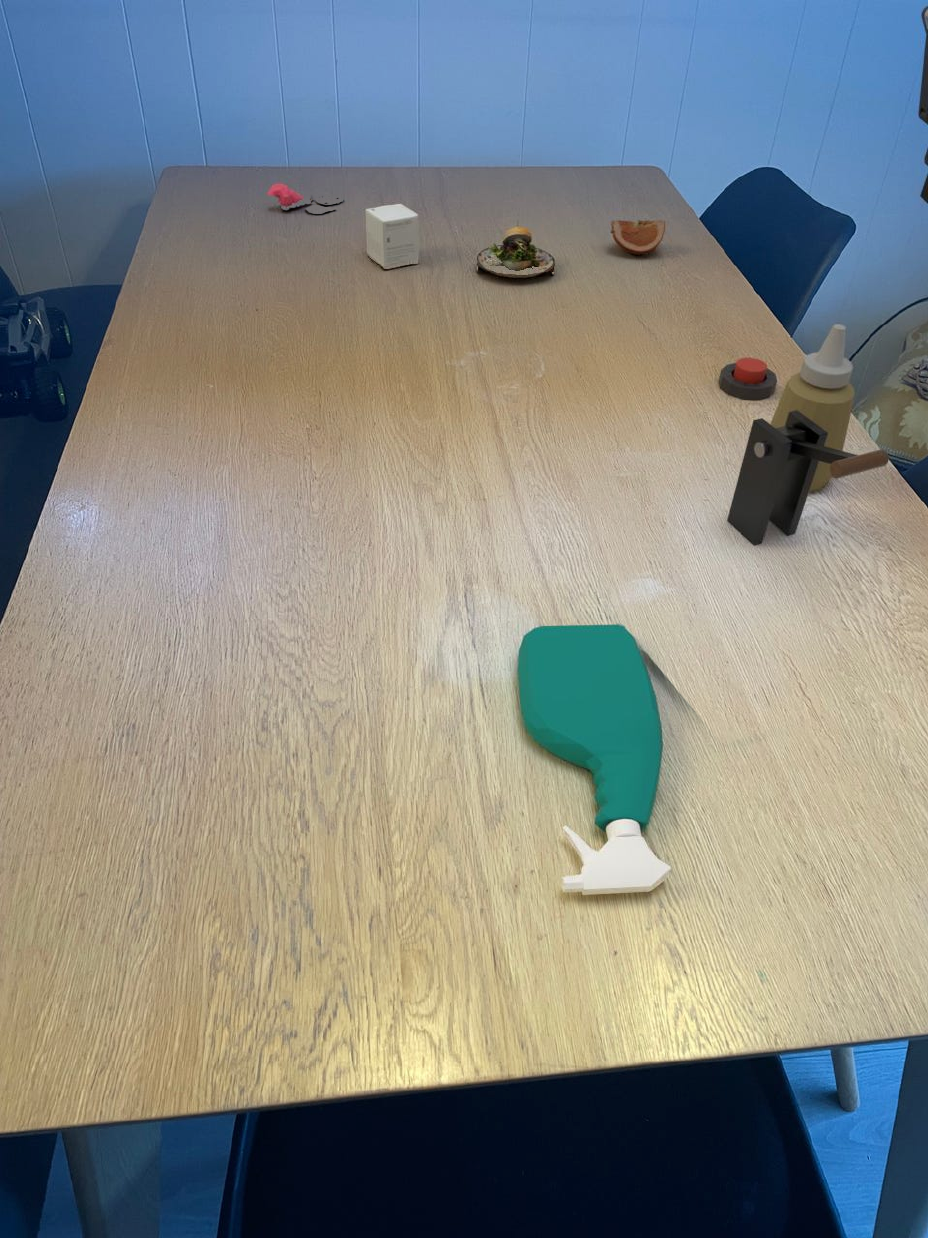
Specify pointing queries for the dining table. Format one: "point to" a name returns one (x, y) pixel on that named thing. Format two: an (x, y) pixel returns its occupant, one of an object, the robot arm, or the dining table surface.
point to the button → (750, 370)
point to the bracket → (773, 479)
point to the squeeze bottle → (822, 396)
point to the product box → (392, 234)
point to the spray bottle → (599, 742)
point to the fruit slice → (638, 235)
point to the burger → (516, 254)
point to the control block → (746, 385)
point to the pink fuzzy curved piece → (284, 194)
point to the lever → (832, 455)
